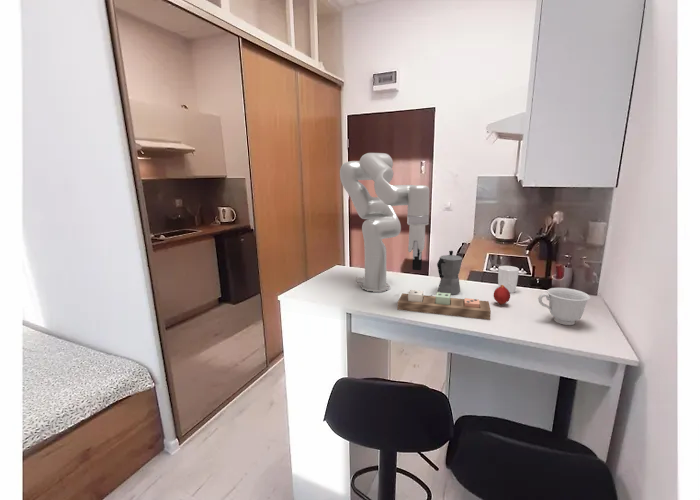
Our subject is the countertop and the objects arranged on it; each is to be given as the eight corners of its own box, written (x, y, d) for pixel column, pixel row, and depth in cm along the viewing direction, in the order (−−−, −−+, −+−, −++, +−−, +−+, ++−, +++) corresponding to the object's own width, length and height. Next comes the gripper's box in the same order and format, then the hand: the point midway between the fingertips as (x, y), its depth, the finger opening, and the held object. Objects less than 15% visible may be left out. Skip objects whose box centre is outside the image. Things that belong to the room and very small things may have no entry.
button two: (435, 304, 121) (435, 296, 120) (436, 300, 125) (436, 291, 125) (449, 306, 119) (450, 297, 119) (450, 301, 124) (450, 292, 123)
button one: (408, 302, 124) (408, 293, 123) (410, 297, 129) (410, 289, 128) (421, 303, 122) (421, 294, 122) (423, 298, 127) (423, 290, 126)
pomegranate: (496, 300, 130) (498, 281, 129) (511, 304, 126) (513, 284, 125) (490, 304, 127) (491, 284, 125) (505, 308, 122) (507, 288, 121)
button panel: (397, 309, 123) (397, 302, 123) (402, 300, 133) (402, 293, 132) (490, 319, 113) (490, 311, 113) (488, 308, 122) (488, 301, 122)
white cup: (492, 289, 144) (494, 267, 142) (505, 286, 147) (507, 264, 145) (507, 294, 137) (509, 271, 135) (521, 292, 140) (523, 269, 138)
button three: (464, 311, 118) (464, 302, 117) (464, 306, 123) (464, 297, 122) (479, 312, 116) (479, 303, 116) (478, 307, 121) (479, 298, 120)
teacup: (528, 313, 118) (531, 287, 116) (573, 314, 116) (577, 287, 114) (544, 328, 106) (548, 299, 104) (594, 330, 104) (599, 300, 102)
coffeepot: (448, 285, 149) (450, 246, 146) (467, 290, 142) (470, 250, 138) (427, 293, 140) (428, 252, 136) (446, 299, 133) (448, 255, 129)
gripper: (410, 217, 127) (409, 264, 131) (404, 222, 113) (403, 274, 117) (430, 218, 125) (429, 265, 128) (426, 223, 111) (425, 275, 115)
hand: (417, 269), depth 123 cm, fingers closed
